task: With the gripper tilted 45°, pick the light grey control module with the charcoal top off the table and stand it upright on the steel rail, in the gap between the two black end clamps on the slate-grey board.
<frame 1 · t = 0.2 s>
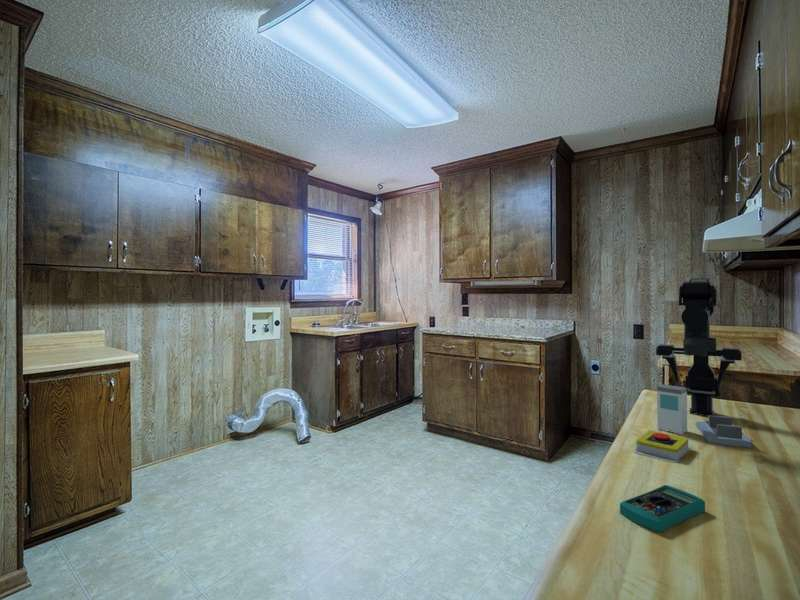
hand: (697, 383, 112), 15 cm above the countertop, tool pointing down, fingers open, 9 cm apart
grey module: (672, 430, 118), on the countertop
steel rail: (721, 430, 112), on the rail board, point 2 cm above the countertop
digital multimeter: (662, 515, 74), on the countertop
end clamps: (724, 426, 110), on the steel rail, point 3 cm above the countertop
rail board: (722, 436, 112), on the countertop
emergency button: (662, 452, 104), on the countertop
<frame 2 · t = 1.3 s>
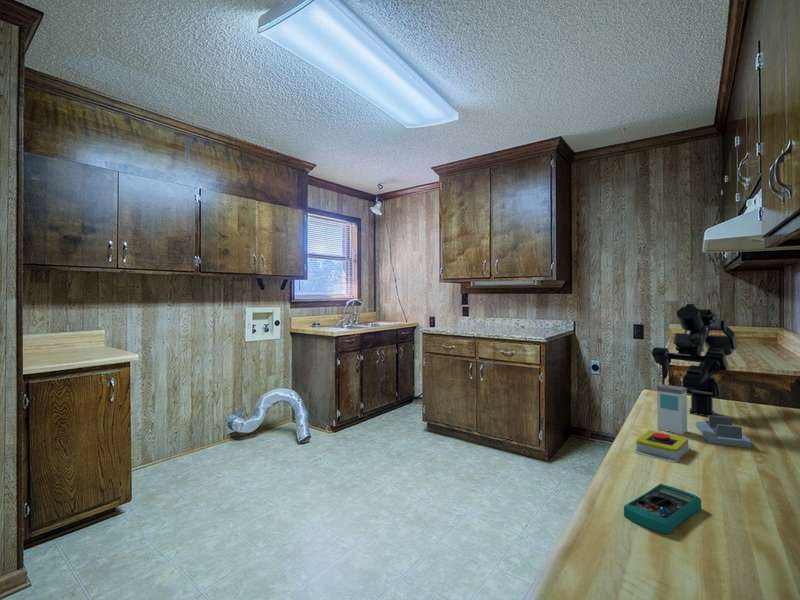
hand: (681, 380, 122), 13 cm above the countertop, tool tilted 45°, fingers open, 9 cm apart
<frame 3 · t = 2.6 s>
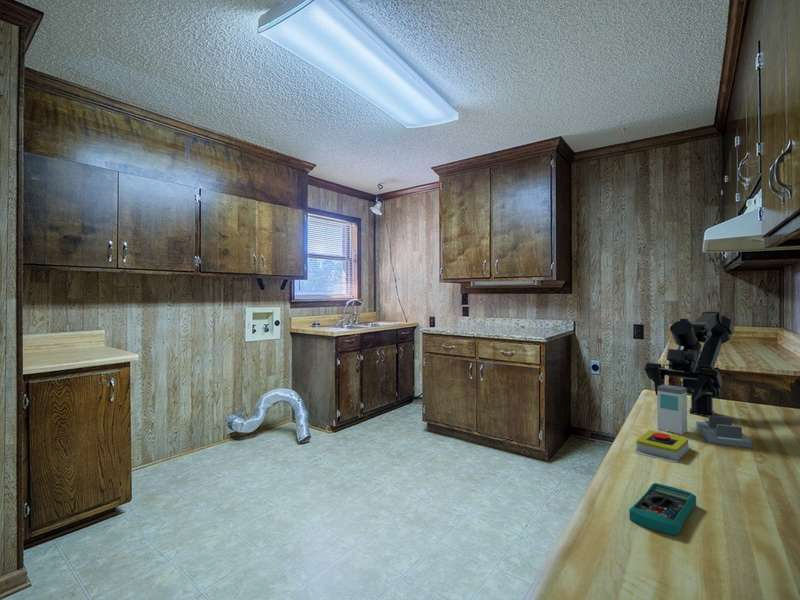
hand: (674, 397, 119), 9 cm above the countertop, tool tilted 45°, fingers open, 9 cm apart
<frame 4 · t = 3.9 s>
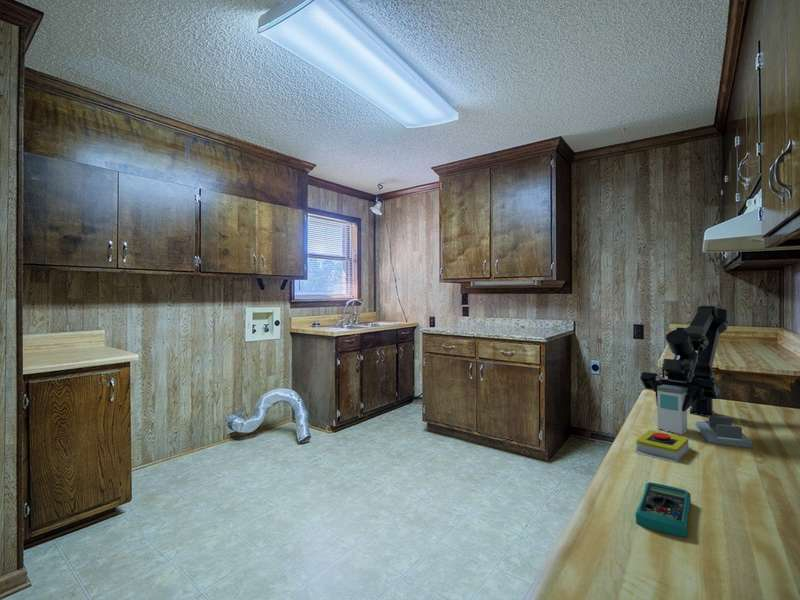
hand: (670, 408, 117), 7 cm above the countertop, tool tilted 45°, fingers closed on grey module, 6 cm apart
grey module: (672, 430, 118), on the countertop, touching gripper
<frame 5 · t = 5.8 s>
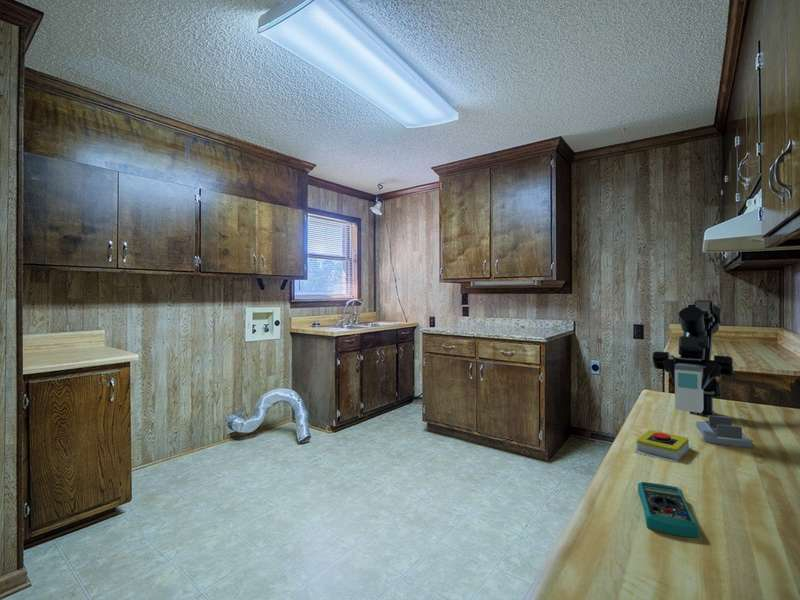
hand: (688, 386, 114), 13 cm above the countertop, tool tilted 45°, fingers closed on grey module, 6 cm apart
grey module: (689, 409, 115), point 7 cm above the countertop, touching gripper
when the fingers open (10 cm above the countertop, at t = 7.6 s): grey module drops 1 cm, resting on steel rail.
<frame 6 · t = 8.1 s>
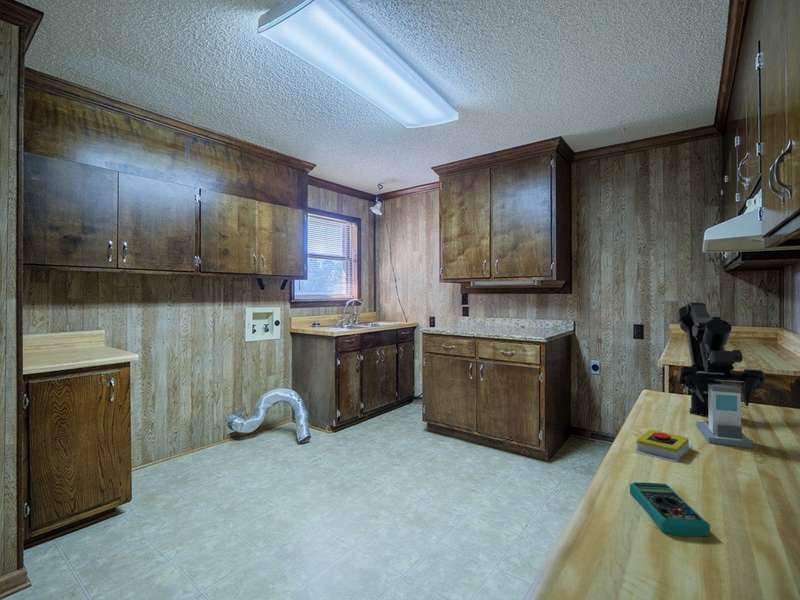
hand: (725, 403, 109), 10 cm above the countertop, tool tilted 45°, fingers open, 9 cm apart
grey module: (724, 432, 110), point 2 cm above the countertop, touching steel rail
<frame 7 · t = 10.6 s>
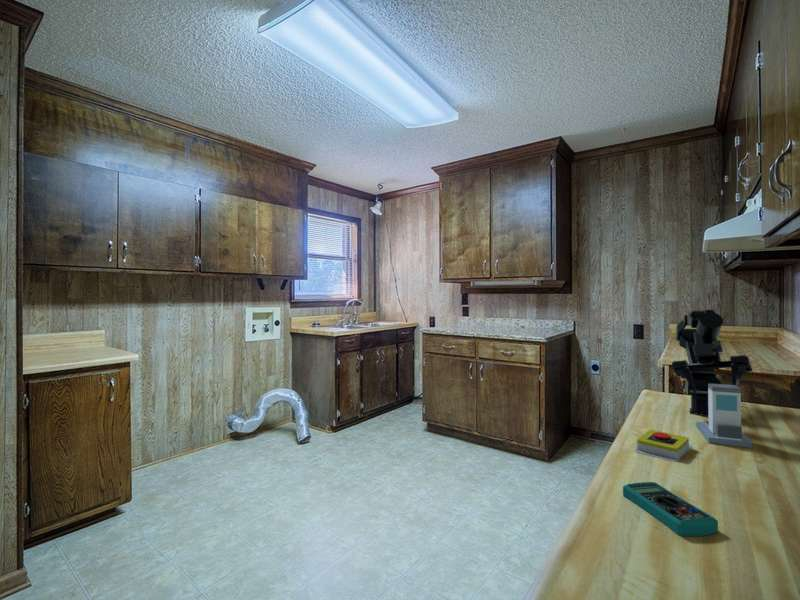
hand: (714, 392, 118), 11 cm above the countertop, tool tilted 35°, fingers open, 9 cm apart
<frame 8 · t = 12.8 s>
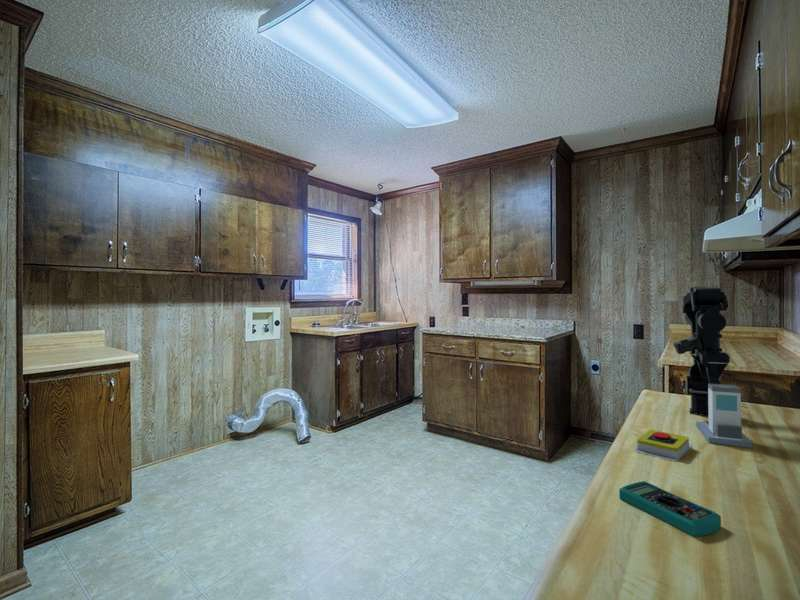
hand: (708, 382, 121), 13 cm above the countertop, tool pointing down, fingers open, 9 cm apart
at the end: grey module 0.0 cm from the target spot on the rail board, point 1.9 cm above the rail board's base; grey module tilted 0°; the gripper is holding nothing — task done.
